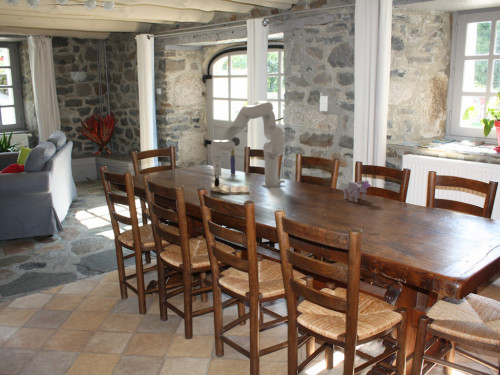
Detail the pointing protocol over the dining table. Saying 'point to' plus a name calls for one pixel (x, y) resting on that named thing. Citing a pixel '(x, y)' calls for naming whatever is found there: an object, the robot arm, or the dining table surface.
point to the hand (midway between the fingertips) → (216, 185)
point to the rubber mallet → (232, 159)
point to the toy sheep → (358, 187)
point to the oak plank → (220, 188)
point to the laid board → (239, 190)
